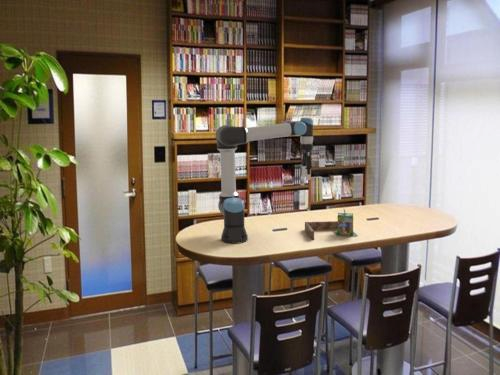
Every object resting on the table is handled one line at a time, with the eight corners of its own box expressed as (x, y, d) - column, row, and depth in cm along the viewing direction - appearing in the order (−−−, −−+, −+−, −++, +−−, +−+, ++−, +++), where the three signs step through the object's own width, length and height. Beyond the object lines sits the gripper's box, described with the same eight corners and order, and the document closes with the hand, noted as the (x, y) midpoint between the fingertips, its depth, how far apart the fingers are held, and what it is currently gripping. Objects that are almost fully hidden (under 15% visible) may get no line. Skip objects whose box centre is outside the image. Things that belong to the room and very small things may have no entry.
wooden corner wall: (311, 239, 262) (311, 231, 261) (304, 229, 284) (304, 221, 283) (360, 238, 264) (361, 230, 263) (350, 228, 285) (350, 220, 285)
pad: (337, 236, 268) (337, 236, 268) (332, 231, 280) (332, 230, 280) (357, 236, 268) (357, 235, 268) (352, 230, 280) (352, 230, 280)
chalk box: (353, 235, 269) (353, 210, 266) (337, 234, 271) (337, 210, 268) (353, 231, 278) (353, 207, 275) (337, 230, 280) (338, 207, 277)
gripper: (316, 144, 267) (316, 181, 270) (309, 141, 291) (308, 175, 295) (303, 145, 267) (303, 181, 270) (297, 142, 291) (297, 175, 295)
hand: (306, 178), depth 283 cm, fingers open, 13 cm apart
